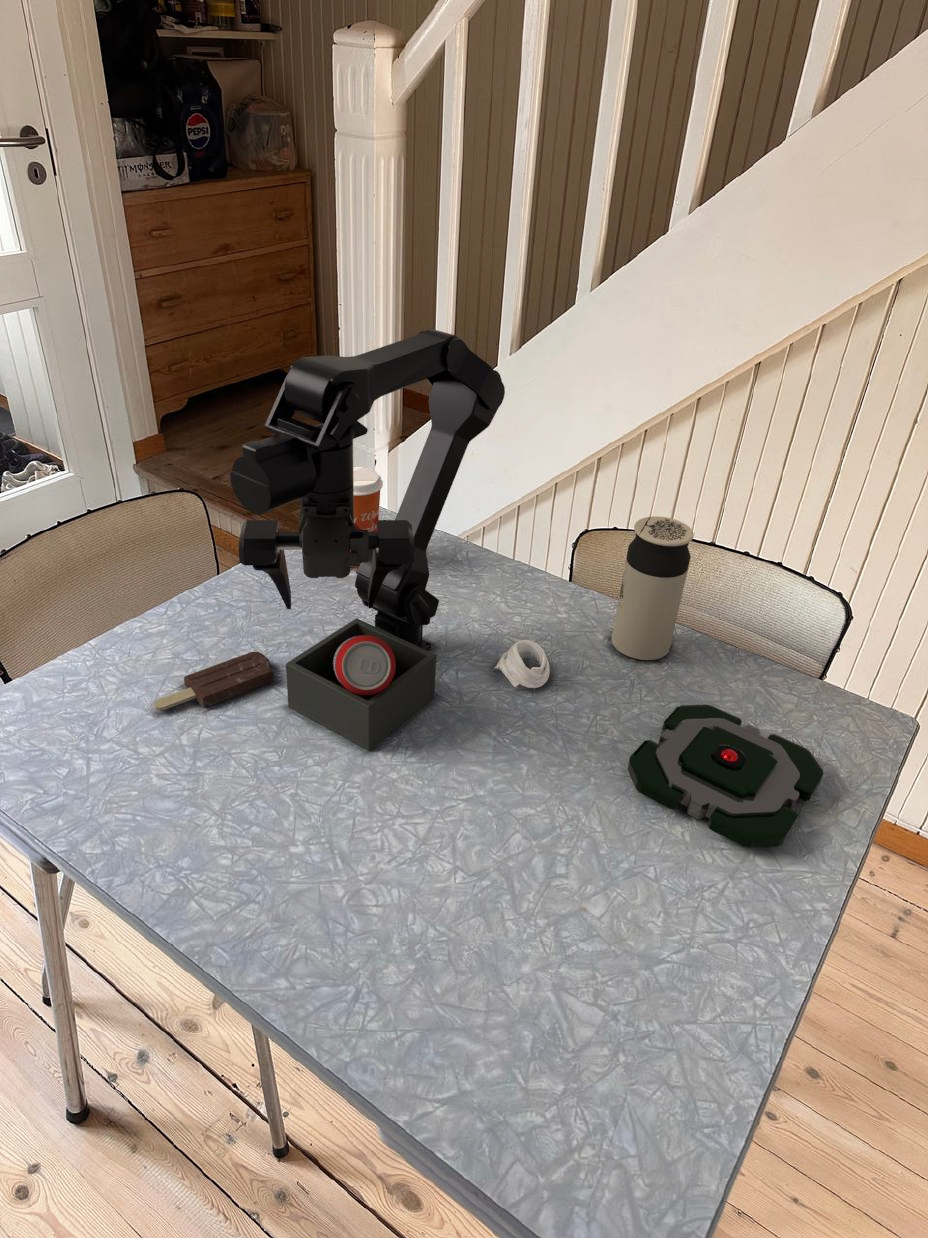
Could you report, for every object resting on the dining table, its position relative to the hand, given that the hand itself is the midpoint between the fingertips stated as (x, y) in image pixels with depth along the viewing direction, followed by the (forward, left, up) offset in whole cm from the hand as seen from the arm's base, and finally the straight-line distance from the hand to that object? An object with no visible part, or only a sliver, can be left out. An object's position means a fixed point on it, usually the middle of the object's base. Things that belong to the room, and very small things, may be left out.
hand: (329, 606), depth 100 cm
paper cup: (-28, -20, -13) cm, 36 cm away
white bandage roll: (-19, +16, -13) cm, 28 cm away
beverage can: (-4, +1, -10) cm, 10 cm away
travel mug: (-35, +25, -13) cm, 45 cm away
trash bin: (-1, +4, -13) cm, 13 cm away
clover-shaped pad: (-16, +44, -13) cm, 49 cm away
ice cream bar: (+8, -12, -13) cm, 19 cm away
